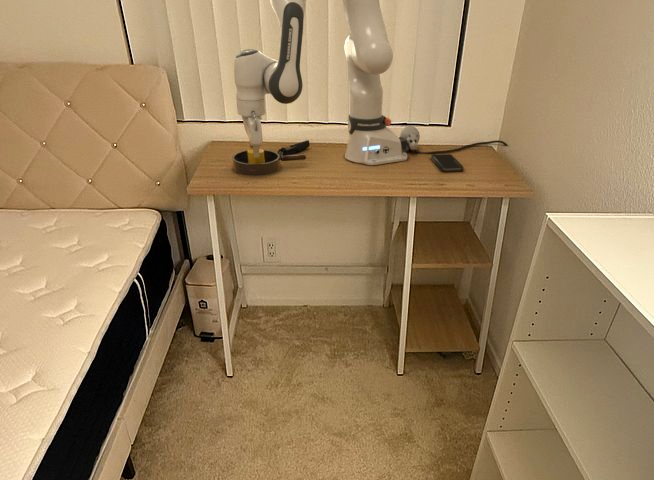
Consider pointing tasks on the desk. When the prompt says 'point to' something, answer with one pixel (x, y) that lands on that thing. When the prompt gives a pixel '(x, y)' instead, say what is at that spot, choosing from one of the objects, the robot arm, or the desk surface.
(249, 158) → the yellow pepper
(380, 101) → the robot arm
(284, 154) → the electric trimmer
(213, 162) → the desk surface
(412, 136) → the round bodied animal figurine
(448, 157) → the phone
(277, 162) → the pan
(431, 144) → the desk surface
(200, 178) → the desk surface
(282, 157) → the pan handle
